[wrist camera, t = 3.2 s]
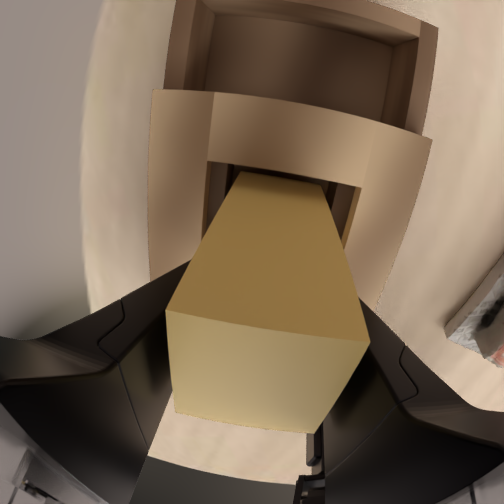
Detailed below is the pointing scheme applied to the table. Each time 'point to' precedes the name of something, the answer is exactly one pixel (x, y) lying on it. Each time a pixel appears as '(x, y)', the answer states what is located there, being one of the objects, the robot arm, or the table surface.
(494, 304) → the packaged product
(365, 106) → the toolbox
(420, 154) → the lid
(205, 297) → the yellow rectangular block
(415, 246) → the table surface
